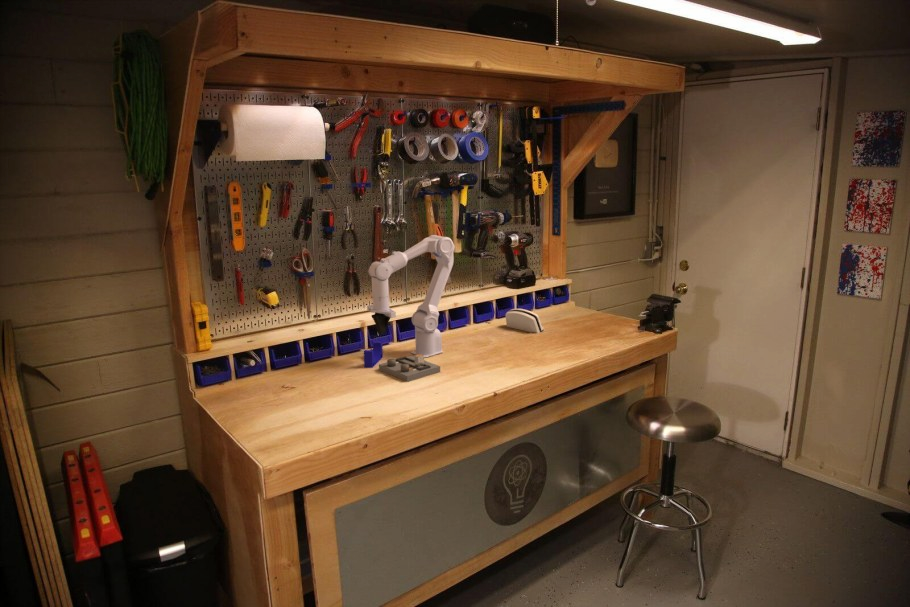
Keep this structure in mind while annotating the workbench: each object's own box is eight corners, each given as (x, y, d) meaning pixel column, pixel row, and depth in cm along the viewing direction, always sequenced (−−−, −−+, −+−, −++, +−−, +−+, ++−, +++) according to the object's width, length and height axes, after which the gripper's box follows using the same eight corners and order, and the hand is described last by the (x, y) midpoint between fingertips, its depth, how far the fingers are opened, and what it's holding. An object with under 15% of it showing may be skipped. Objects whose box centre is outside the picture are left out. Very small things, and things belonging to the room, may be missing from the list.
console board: (411, 360, 219) (410, 350, 218) (440, 371, 207) (440, 360, 206) (379, 369, 210) (378, 358, 209) (407, 381, 198) (407, 370, 197)
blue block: (371, 356, 224) (370, 341, 223) (382, 357, 224) (382, 341, 222) (360, 367, 213) (359, 351, 212) (372, 368, 212) (371, 351, 211)
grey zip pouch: (545, 330, 255) (541, 310, 251) (539, 336, 252) (534, 316, 248) (513, 324, 266) (508, 304, 262) (507, 329, 264) (502, 310, 259)
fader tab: (420, 364, 208) (420, 353, 207) (424, 366, 206) (423, 354, 206) (414, 366, 206) (414, 355, 205) (418, 368, 205) (417, 356, 204)
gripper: (359, 294, 215) (361, 332, 218) (383, 301, 205) (384, 340, 208) (375, 291, 220) (377, 328, 223) (400, 298, 209) (401, 336, 212)
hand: (382, 333), depth 216 cm, fingers closed
